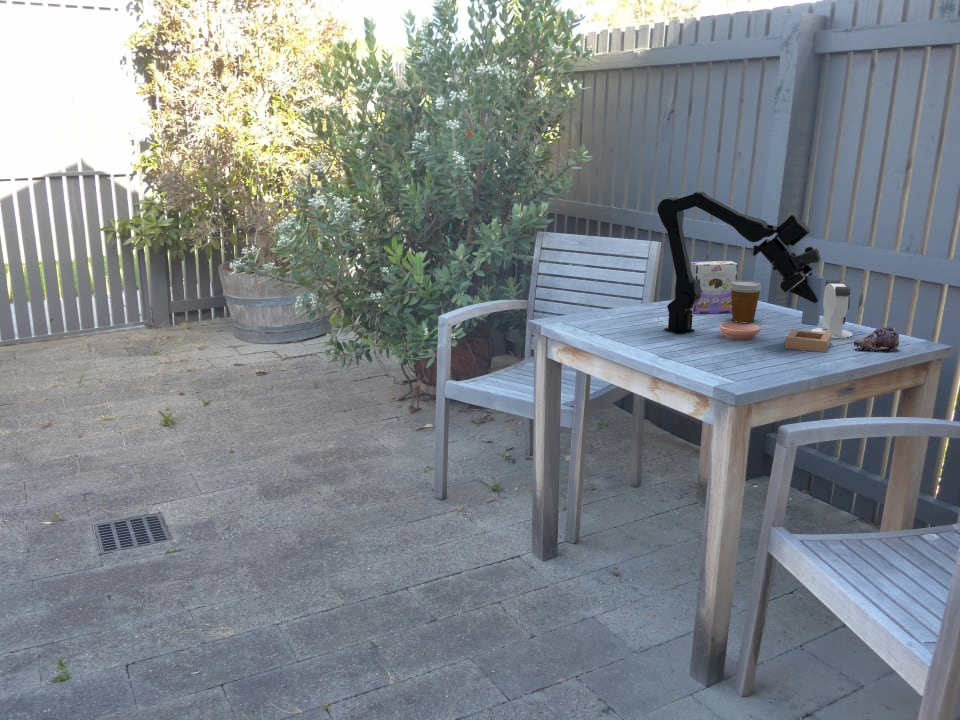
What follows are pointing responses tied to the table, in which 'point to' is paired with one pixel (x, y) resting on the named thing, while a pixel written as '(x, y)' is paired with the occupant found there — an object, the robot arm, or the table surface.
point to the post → (809, 308)
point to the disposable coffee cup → (744, 300)
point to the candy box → (714, 286)
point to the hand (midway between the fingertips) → (818, 300)
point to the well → (808, 340)
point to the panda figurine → (835, 309)
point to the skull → (879, 340)
